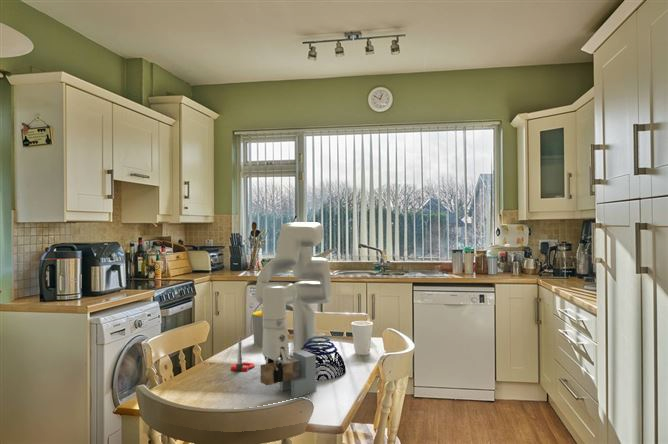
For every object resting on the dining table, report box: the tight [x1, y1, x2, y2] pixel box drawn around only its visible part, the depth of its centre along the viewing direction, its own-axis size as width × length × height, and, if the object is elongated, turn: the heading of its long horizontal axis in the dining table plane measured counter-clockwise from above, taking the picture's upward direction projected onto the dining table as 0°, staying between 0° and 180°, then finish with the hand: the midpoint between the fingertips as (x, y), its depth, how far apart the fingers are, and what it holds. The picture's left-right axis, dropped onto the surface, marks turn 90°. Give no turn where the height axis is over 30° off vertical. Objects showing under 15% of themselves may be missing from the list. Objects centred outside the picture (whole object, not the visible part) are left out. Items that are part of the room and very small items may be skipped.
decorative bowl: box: [301, 332, 347, 382], centre depth 172 cm, size 20×20×14 cm
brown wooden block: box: [259, 357, 299, 386], centre depth 147 cm, size 12×4×6 cm, turn 127°
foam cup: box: [350, 320, 374, 356], centre depth 196 cm, size 10×9×13 cm
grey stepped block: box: [279, 350, 317, 399], centre depth 152 cm, size 10×9×12 cm
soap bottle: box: [251, 305, 263, 348], centre depth 214 cm, size 13×13×21 cm
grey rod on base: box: [230, 336, 255, 372], centre depth 178 cm, size 8×13×9 cm
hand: (274, 379), depth 146 cm, fingers closed on brown wooden block, 4 cm apart
